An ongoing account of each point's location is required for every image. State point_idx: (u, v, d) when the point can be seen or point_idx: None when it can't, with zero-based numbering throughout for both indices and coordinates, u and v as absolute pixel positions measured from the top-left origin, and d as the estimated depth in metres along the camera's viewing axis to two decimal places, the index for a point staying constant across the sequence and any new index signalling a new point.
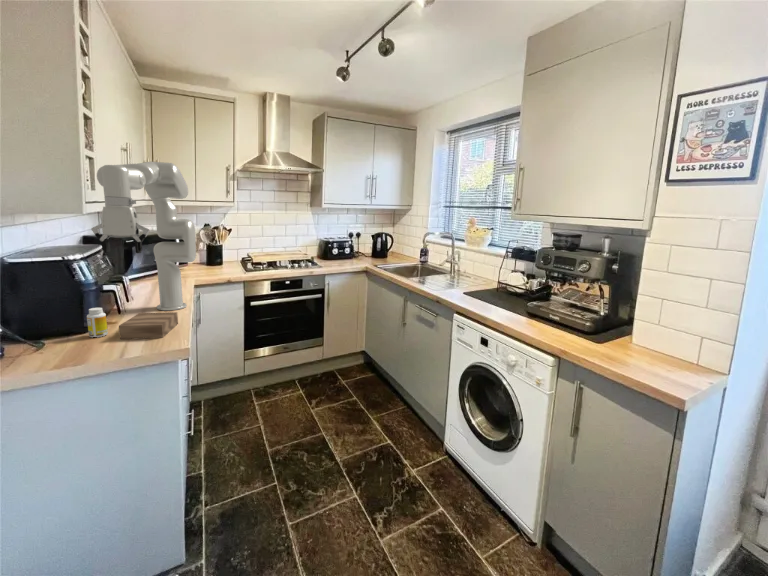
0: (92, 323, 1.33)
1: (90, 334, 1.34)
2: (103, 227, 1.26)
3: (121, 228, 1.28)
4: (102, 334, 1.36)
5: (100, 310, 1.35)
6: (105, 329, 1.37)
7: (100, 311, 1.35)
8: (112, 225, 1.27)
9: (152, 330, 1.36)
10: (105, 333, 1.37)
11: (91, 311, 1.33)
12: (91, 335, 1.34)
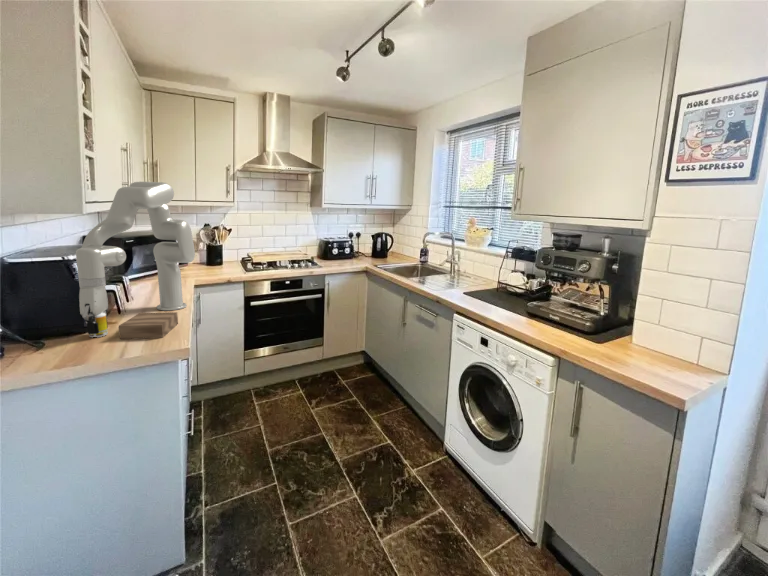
0: None
1: (90, 334, 1.34)
2: (95, 308, 1.31)
3: (104, 304, 1.37)
4: (102, 334, 1.36)
5: None
6: (105, 329, 1.37)
7: None
8: (100, 304, 1.34)
9: (152, 330, 1.36)
10: (105, 333, 1.37)
11: None
12: (91, 335, 1.34)
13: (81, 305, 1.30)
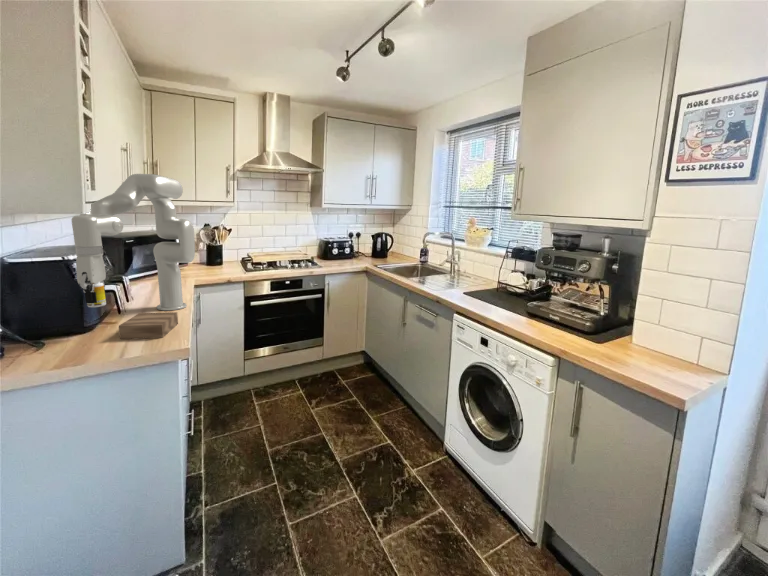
0: None
1: (88, 304, 1.33)
2: (92, 276, 1.30)
3: (101, 274, 1.35)
4: (100, 304, 1.34)
5: None
6: (103, 299, 1.35)
7: None
8: (97, 273, 1.32)
9: (152, 330, 1.36)
10: (103, 303, 1.35)
11: None
12: (89, 305, 1.33)
13: (78, 273, 1.28)
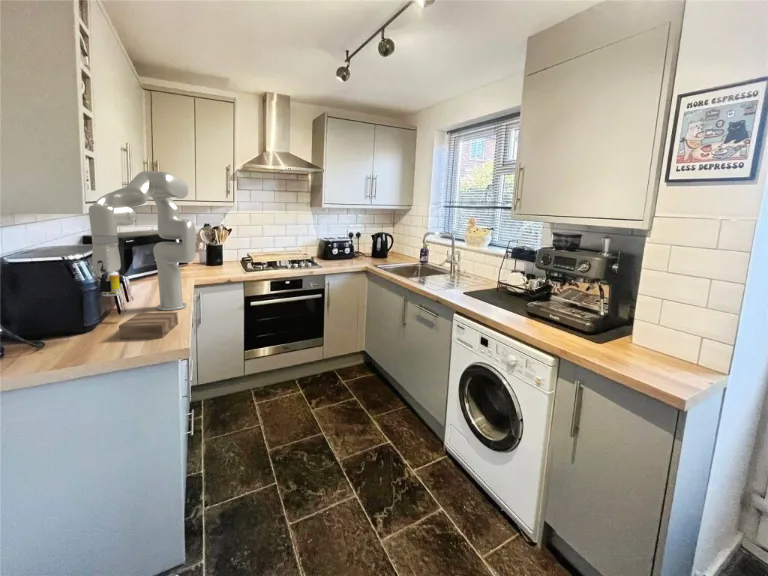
0: None
1: (103, 292, 1.34)
2: (108, 265, 1.31)
3: (116, 263, 1.36)
4: (115, 293, 1.35)
5: None
6: (118, 288, 1.36)
7: None
8: (113, 262, 1.33)
9: (152, 330, 1.36)
10: (118, 292, 1.36)
11: None
12: (104, 293, 1.34)
13: (94, 262, 1.29)
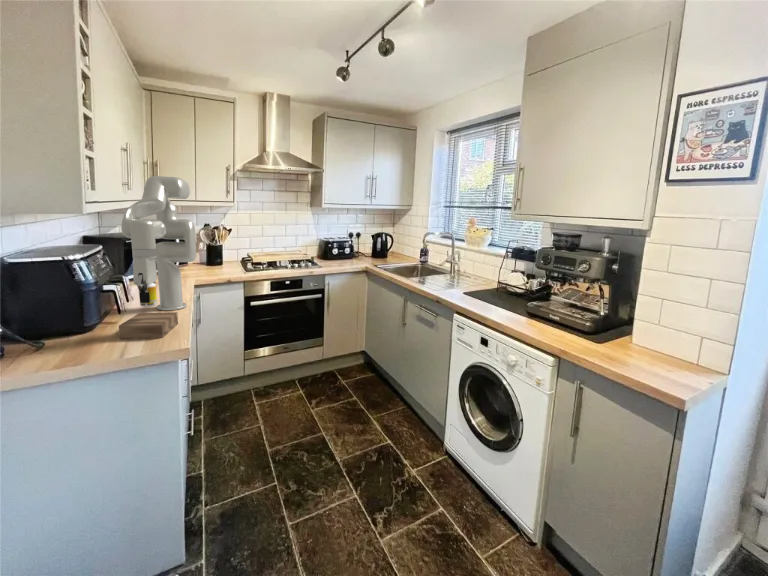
0: None
1: (142, 303, 1.40)
2: (147, 277, 1.37)
3: (154, 275, 1.42)
4: (153, 304, 1.41)
5: None
6: (155, 299, 1.42)
7: None
8: (151, 274, 1.39)
9: (152, 330, 1.36)
10: (155, 303, 1.42)
11: None
12: (142, 304, 1.40)
13: (135, 274, 1.35)
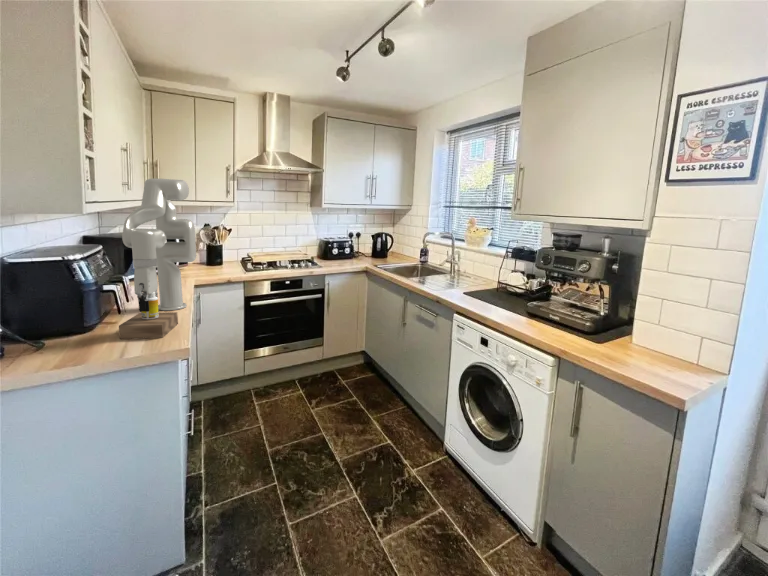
0: None
1: (143, 316, 1.41)
2: (148, 287, 1.37)
3: (155, 285, 1.43)
4: (154, 317, 1.42)
5: (153, 294, 1.42)
6: (157, 312, 1.43)
7: (153, 294, 1.42)
8: (152, 284, 1.40)
9: (152, 330, 1.36)
10: (156, 316, 1.43)
11: None
12: (144, 317, 1.41)
13: (136, 284, 1.36)
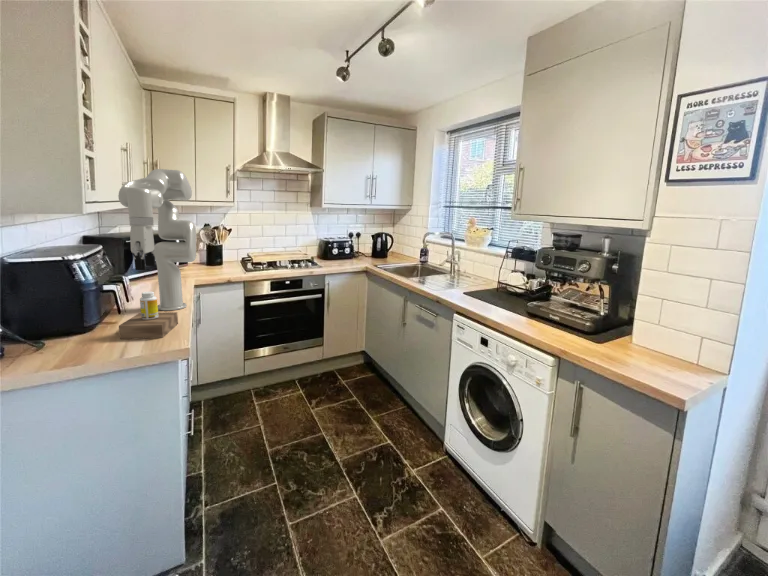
0: (145, 306, 1.40)
1: (143, 316, 1.41)
2: (145, 246, 1.36)
3: (151, 245, 1.41)
4: (154, 317, 1.42)
5: (152, 294, 1.42)
6: (156, 312, 1.43)
7: (152, 294, 1.42)
8: (149, 243, 1.39)
9: (152, 330, 1.36)
10: (156, 316, 1.43)
11: (144, 294, 1.40)
12: (144, 317, 1.41)
13: (132, 242, 1.34)
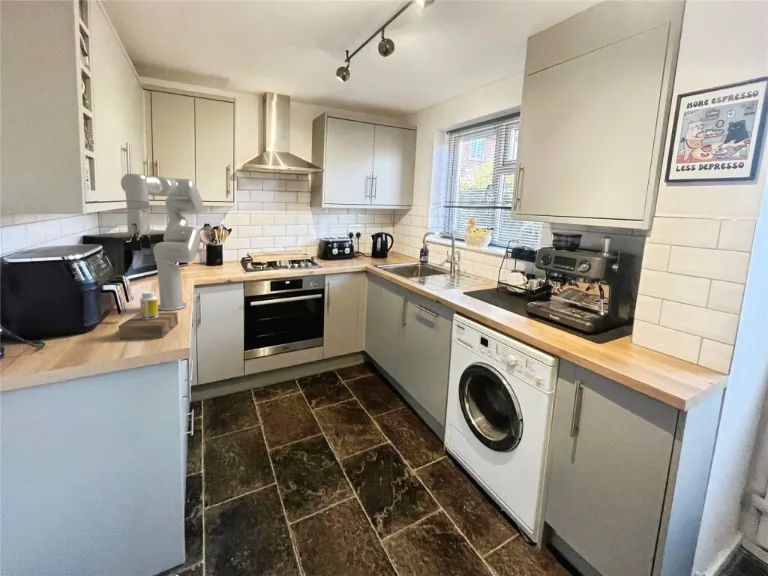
0: (145, 306, 1.40)
1: (143, 316, 1.41)
2: (141, 228, 1.46)
3: (147, 228, 1.51)
4: (154, 317, 1.42)
5: (152, 294, 1.42)
6: (156, 312, 1.43)
7: (152, 295, 1.42)
8: (144, 226, 1.48)
9: (152, 330, 1.36)
10: (156, 316, 1.43)
11: (144, 294, 1.40)
12: (144, 317, 1.41)
13: (129, 225, 1.44)
